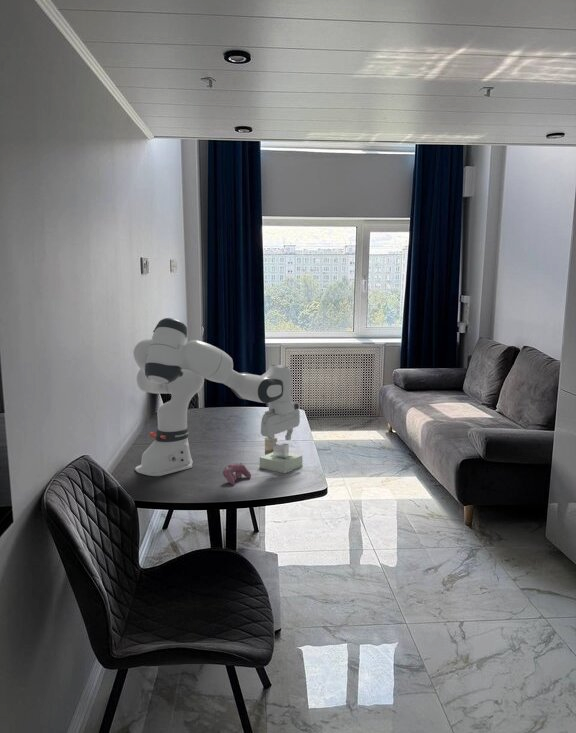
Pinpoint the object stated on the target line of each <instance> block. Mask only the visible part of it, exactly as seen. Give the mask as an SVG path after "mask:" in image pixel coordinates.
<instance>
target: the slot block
mask: <svg viewBox="0 0 576 733" xmlns="http://www.w3.org/2000/svg"><path fill="white" fill-rule="evenodd" d="M302 466H303V455H302V454H296V453H292V452H289V458H288V459H286V460H285V459H280V458H276V457H273V452H272V453H269V454H267V455H265V454H264V455H262V456H260V457H259V468H260V467H261V469H264V468H265V470H269V471H273V472H277V471H278V473H281V472H283V473H282V474H287V473H289V472H291V471H294V470H295V468H296V469H297V468H300V467H302ZM293 469H294V470H293ZM288 471H289V472H288ZM286 472H287V473H286Z"/></svg>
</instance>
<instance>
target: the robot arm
mask: <svg viewBox="0 0 576 733" xmlns="http://www.w3.org/2000/svg"><path fill="white" fill-rule="evenodd" d="M152 333H153V334H152V337H151V339H143V340H141V341H139V342H137V344H135V346H134V349H133V358H134V360H135V362H136V364H137V367H138V368H139V370H138V373H137V374H136V384H137V386H138V388H139V389H140V390H141V391H142V392H146V393H148V394H149V393H150V394H166V395H167V394H171V397H170V398H171V399H170V400H168V401H166V402H165V403H162V405H160V406H159V407H158V409H157V413H156V414H157V429H156V432H154V431H150V432H149V438H154V441H153V442H151V444H150V445H149V446H148V447H147V448H146V450H145V451H144V452H143V453H142V455H141V461H140V462H141V464H139V465H137V466H136V467H135V472H136V473H139V474H142V475H144V476H145V475H146V476H148V477H149V476H150V477H151V476H152V477H162V476H165V475H169V474H173V473H177V472H181V471H184V470H188V469H192V468H193V463H194V462H193V459H192V455H191V450H190V444H189V439H188V438H189V436H190V435H189V433H190V432H189V427H188V407H189V404H190V402H191V400H192V399H193V397H194V396H195V395H196V394H197V393H198V392H200V390H201V389H203V386H204V383H205V379H206V380H208V381H210V382H215V383H219V384H223V385H225V386H227V387H228V388H230V390H231V391H232V392H233V393H234V394H235V396H236V397H237V398H239V399H241V400H246V401H247V400H248V401H252V402H257V403H262V404H268V410H267V411H265V412H264V414H262V419H261V423H260V435H261V436H262V437H265V438H266V437H268V438H269V440H270V445H271V446H275V445H276V441H275V440H274V437H276V435H277V434H280V433H283V432H286V435H285V438H284V439H285V441H291V439H292V435H293V432H294V428H296V427H299V425H300V422H301V421H300V419H301V414H300V407H301V405H300V404H301V403H300V402H293V397H292V390H293V389H292V388H293V382H292V380H293V379H292V372H291V369H290V367H289V366H286V365H280V364H271V365H269V368H268V369H267V371H266V372H264V373H263V374H261V375H258V374H253V373H249V372H238V371H236V370H234V361H233V358H232V357H231V356H230V355H229V354H228V353H226V352H225V351H224V350H222V349H221V348H219V347H217V346H214V345H212V344H210V343H207V342H204V341H202V340H197V339H192V340H189V341H186V340H187V338H188V327H187V326H186V324H185V323H184V322H182V321H181V320H179V319H175V318H172V317H164V318H162V319H161V320H159V321H158V323H157V324H156V326H155V328H154V329H153V331H152Z"/></svg>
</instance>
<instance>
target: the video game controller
mask: <svg viewBox="0 0 576 733" xmlns="http://www.w3.org/2000/svg"><path fill="white" fill-rule="evenodd" d="M222 476H223V477H224V478H225V479H226V481H227V482H228V483H229V484H230V485H232V486H233V485H235V483H236V479H237V480H239V479H241V478H242V477H243V476H244V477H245V478H247V479H251V477H252V475H251V472H250V471H249V469H248V468H247V467H246V465H244V464H243V463H242V462H240V463H237V462H235V463H231V464H229V465H227V466H226V467H225V468H224V469H223V470H222Z"/></svg>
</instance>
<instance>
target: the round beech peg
mask: <svg viewBox="0 0 576 733" xmlns="http://www.w3.org/2000/svg"><path fill="white" fill-rule="evenodd" d="M274 440H275V441H276V442H278V437H276V436H275V437H274ZM272 452H273V446H271V445H270V440H269V438H268V437H266V436H265V437H264V455H267V454H269V453H272Z"/></svg>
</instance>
